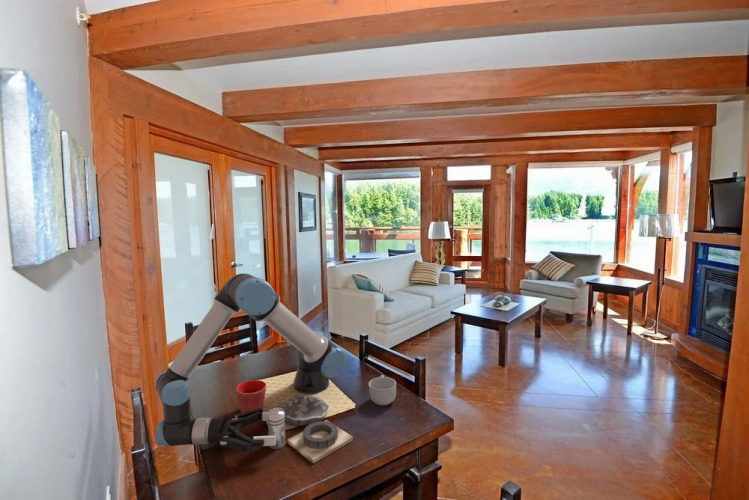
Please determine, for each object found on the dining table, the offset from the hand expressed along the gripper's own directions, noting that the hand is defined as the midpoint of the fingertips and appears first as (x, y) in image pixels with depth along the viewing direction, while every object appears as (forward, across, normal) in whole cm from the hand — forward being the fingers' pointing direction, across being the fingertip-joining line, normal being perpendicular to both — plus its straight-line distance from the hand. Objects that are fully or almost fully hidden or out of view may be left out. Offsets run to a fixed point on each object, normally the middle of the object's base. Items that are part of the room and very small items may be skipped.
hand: (279, 427), depth 120 cm
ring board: (+13, 0, -6) cm, 14 cm away
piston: (-1, 0, -6) cm, 6 cm away
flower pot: (-13, -21, -6) cm, 26 cm away
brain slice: (+6, -18, -6) cm, 19 cm away
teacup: (+37, -26, -6) cm, 45 cm away
